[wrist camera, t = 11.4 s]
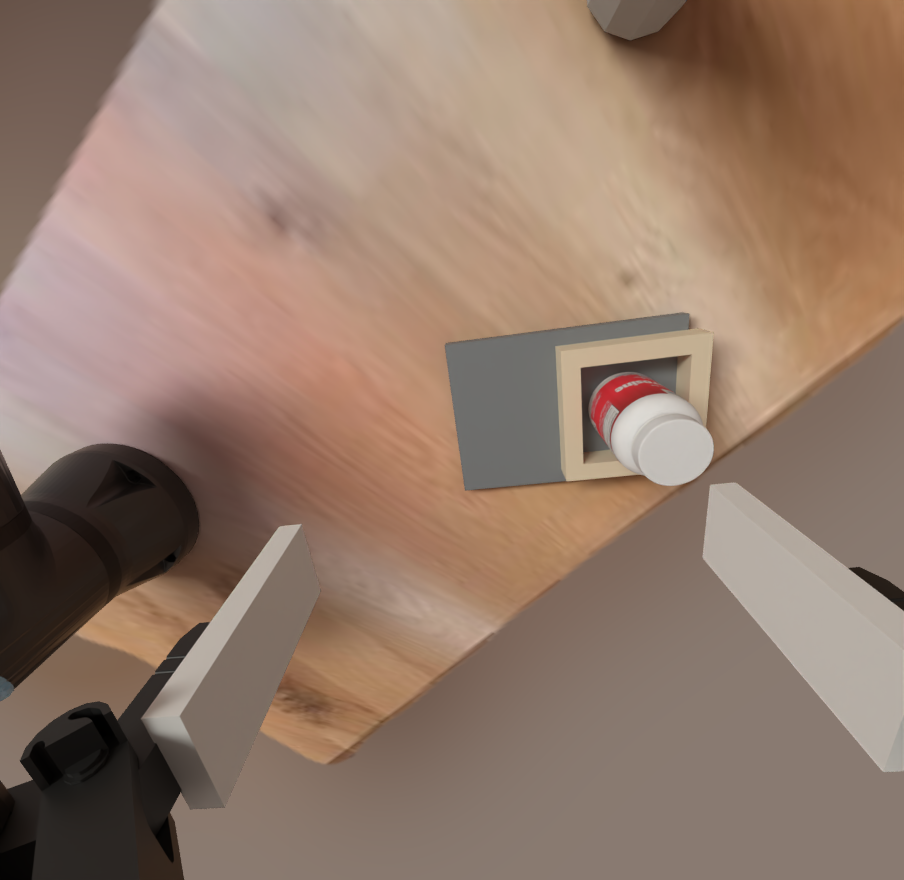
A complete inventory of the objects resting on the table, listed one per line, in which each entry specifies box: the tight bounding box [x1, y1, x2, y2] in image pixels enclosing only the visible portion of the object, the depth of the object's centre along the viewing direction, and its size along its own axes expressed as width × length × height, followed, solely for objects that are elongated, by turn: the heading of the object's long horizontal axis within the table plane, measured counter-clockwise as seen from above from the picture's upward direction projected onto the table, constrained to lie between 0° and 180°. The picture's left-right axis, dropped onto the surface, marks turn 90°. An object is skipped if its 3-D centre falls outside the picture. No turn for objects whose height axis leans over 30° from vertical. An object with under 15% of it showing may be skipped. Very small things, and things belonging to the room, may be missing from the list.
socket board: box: [445, 313, 714, 490], centre depth 38 cm, size 21×14×4 cm
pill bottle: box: [589, 372, 714, 486], centre depth 33 cm, size 6×6×11 cm
